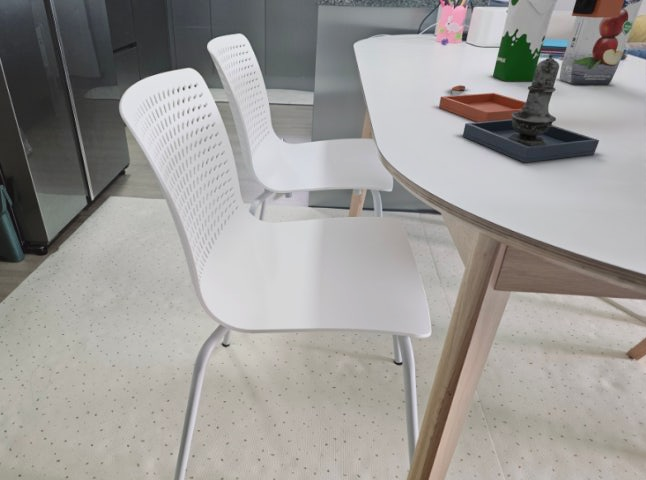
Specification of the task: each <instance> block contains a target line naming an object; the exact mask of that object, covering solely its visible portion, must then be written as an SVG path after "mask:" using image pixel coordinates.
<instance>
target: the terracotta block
mask: <svg viewBox="0 0 646 480" xmlns="http://www.w3.org/2000/svg"><path fill="white" fill-rule="evenodd" d="M623 3H624V0H597V2H596V5H595V8H594V11H593V13H592V14H574V13H573V12H572V13H571V17H576V16H580V17H593V18H603V17H619V14H620V11H621V8H622V6H623Z"/></svg>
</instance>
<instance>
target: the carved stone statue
mask: <svg viewBox="0 0 646 480" xmlns="http://www.w3.org/2000/svg"><path fill="white" fill-rule="evenodd" d="M554 56H555V55H554V52H553V51H552V52H550V53H549V54H548V58H546V59H543V60H541V61H539V62H538V64H537V67H536V71H535V74H534V78H533V81H531V85H528V86H527V90H528V94H527V96H526V101H525V102H526V103H525V105H524V107H523V108H522V110H520V111H519V112H514V113H512V114H511V116H512V118H513V119H512V127H513V128H514V130H515V131H516V132H517V133H519V134H514V135H511V136H509V137H507V138H508V139H511V140H513V141H516V142H518V143H521V144H524V145H526V146H539V145H545V144H546V141H545V140H543V138H541V137H538V135H542V134H544V133H545V132H547V131H548V130H549V128H550V127H551V125H553V123H554V122H556V120H557V117H555V116H553V115H552V114H551V113H550V112H549V107H550V106H549V105H550V101H551V98H552V95H553V93H554V92H556V87H555V83H556V79H557V77H558V73H559V70H560V64H559V62H558V61H557V60H555V58H554Z"/></svg>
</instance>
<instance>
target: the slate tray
mask: <svg viewBox="0 0 646 480" xmlns="http://www.w3.org/2000/svg"><path fill="white" fill-rule="evenodd" d="M514 134H519V133H517V132H516V131H515V130H514V128H513V127H512V119H508V120H497V121H486V122H476V121H474V122H467V123H465V124H464V128H463V132H462V137H463V138H465V139H468V140H471V141H473V142H474V143H478V144H480V145H482V146H484V147H487V148H489V149H491V150H494V151H496V152H498V153H500V154H503V155H506V156H508V157H509V158H513V159H515V160H517V161H519V162H522V163H533V162H540V161H541V162H543V161H549V160H558V159H566V158H575V157H581V156H582V157H584V156H591V155H595V153H596V150H597V147H598V145H599V143H600V139H598V138H594V137H591V136H588V135H584V134H581V133H578V132H575V131H572V130H569V129H565V128H562V127H559V126H557V125H553V124H552V125H551V127H550V128H549V130H548V131H547V132H545V133H544V134H542V135H538V137H541V138H543V140H545V141H546V144H545V145H539V146H526V145H524V144H521V143H518V142H516V141H513V140H511V139H508V138H507V137H509V136H511V135H514Z"/></svg>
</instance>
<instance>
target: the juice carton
mask: <svg viewBox="0 0 646 480" xmlns="http://www.w3.org/2000/svg"><path fill="white" fill-rule="evenodd" d="M642 3H643V0H624V3H623V6H622V8H621V11H620V14H619V17H603V18H593V17H580V16H575V19H574V23H573V26H572V29H571V32H570V35H569V38H568V42H567V45H566V48H565V52H564V55H563V58H562V62H561V65H560V71H559V80H560V81H563V82H566V83H569V84H571V85H574V86H575V85H577V86H584V85H585V86H588V85H589V86H606V85H610V84H611V83H612V80H613V78H614V76H615V74H616V72H617V70H618V67H619V64H620V62H621V59H622V58H623V54H624V51H625V49H626V46H627V43H628V41H629V39H630V36H631V33H632V30H633V27H634V25H635V22H636V20H637V17H638V14H639V11H640V9H641V6H642Z"/></svg>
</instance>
